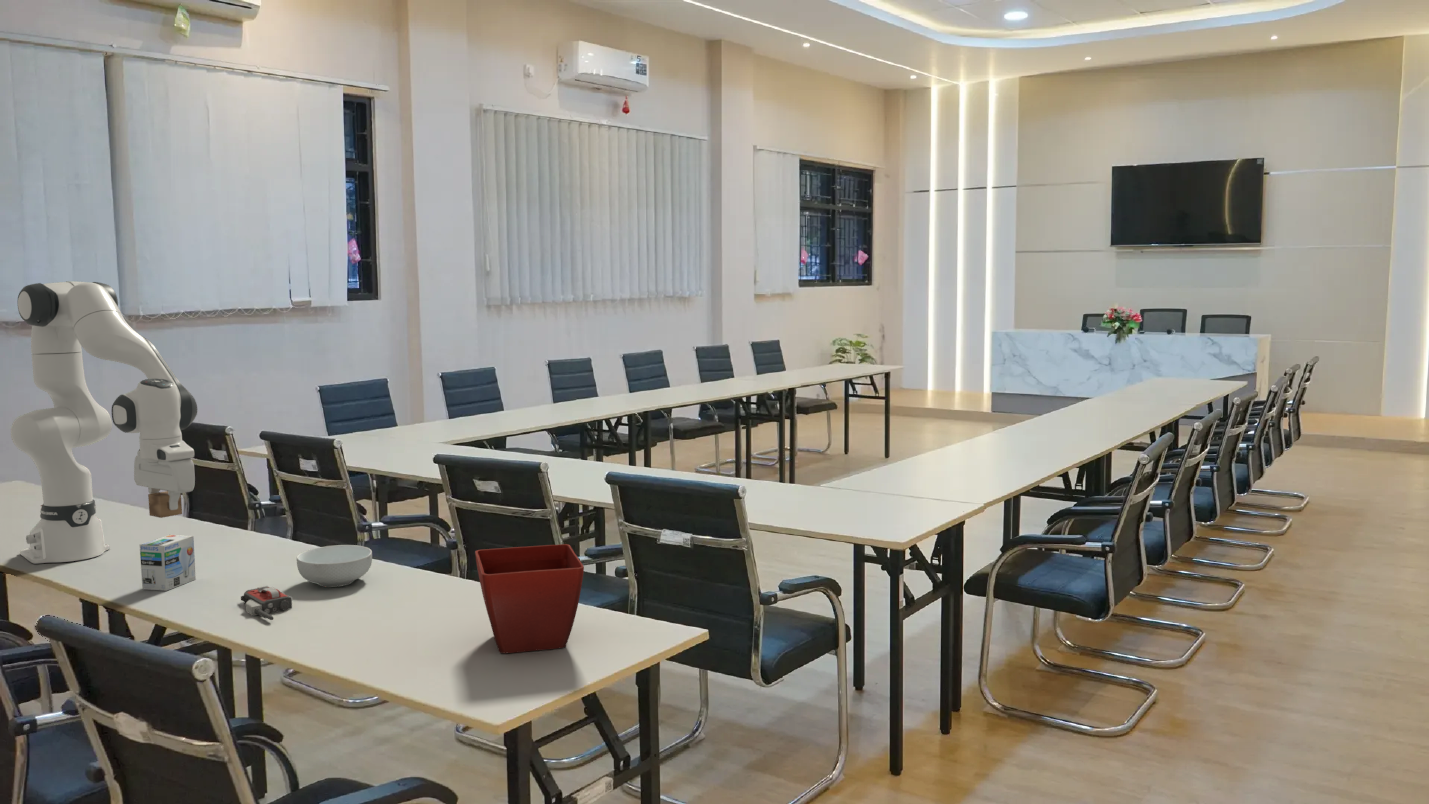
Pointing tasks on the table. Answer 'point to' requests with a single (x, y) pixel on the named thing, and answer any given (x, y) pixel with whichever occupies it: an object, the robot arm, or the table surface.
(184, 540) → the light bulb box
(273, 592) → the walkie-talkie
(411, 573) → the table surface
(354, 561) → the cereal bowl
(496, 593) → the plant pot
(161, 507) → the walnut cube
